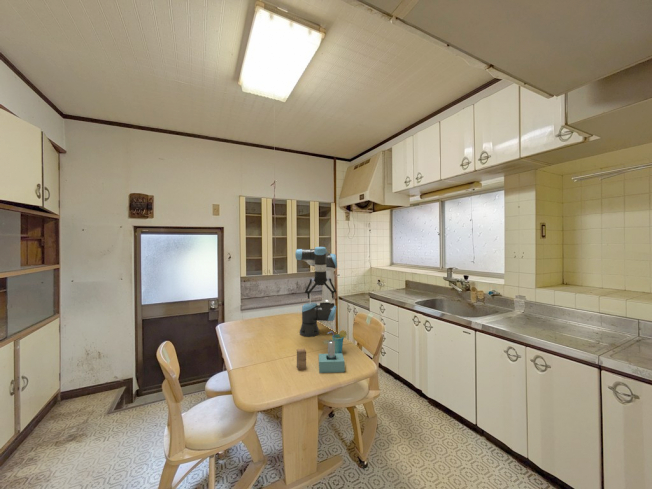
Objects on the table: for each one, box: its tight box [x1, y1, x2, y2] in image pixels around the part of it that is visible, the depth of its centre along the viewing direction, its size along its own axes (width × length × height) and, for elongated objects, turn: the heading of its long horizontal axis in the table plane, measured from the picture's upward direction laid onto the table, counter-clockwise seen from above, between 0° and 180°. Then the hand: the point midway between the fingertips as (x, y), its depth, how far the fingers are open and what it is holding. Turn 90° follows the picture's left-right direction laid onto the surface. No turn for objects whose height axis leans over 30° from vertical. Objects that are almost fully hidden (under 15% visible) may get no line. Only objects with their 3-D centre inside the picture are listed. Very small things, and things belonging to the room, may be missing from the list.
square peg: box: [296, 348, 307, 371], centre depth 143 cm, size 4×4×10 cm
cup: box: [326, 330, 348, 354], centre depth 163 cm, size 14×8×15 cm, turn 119°
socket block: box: [318, 352, 346, 374], centre depth 143 cm, size 10×14×6 cm
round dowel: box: [327, 339, 335, 360], centre depth 143 cm, size 4×4×15 cm
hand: (320, 303), depth 163 cm, fingers open, 13 cm apart
